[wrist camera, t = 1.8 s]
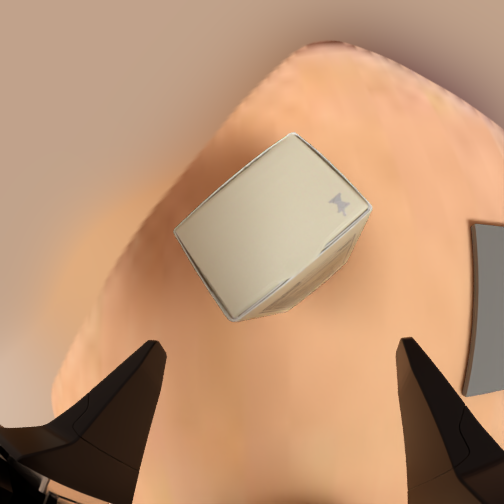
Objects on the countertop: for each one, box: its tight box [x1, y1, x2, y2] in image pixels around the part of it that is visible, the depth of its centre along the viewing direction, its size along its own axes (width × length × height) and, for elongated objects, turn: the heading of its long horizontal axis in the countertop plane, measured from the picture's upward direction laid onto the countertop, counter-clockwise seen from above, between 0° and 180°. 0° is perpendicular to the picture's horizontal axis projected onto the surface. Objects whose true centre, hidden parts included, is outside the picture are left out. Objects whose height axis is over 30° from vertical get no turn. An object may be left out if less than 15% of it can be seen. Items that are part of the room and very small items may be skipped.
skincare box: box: [173, 132, 372, 322], centre depth 15 cm, size 6×4×12 cm
